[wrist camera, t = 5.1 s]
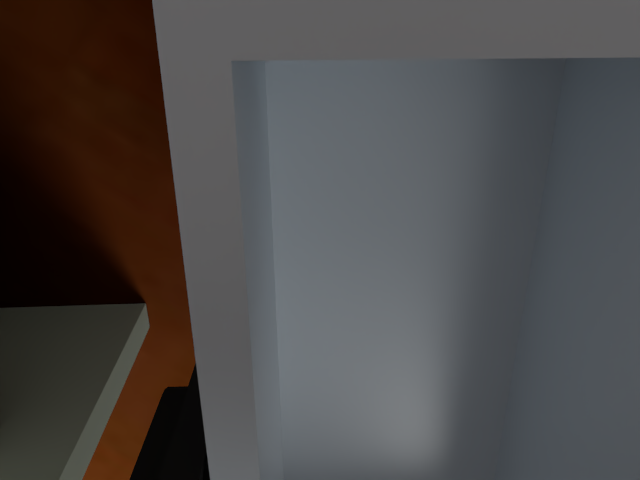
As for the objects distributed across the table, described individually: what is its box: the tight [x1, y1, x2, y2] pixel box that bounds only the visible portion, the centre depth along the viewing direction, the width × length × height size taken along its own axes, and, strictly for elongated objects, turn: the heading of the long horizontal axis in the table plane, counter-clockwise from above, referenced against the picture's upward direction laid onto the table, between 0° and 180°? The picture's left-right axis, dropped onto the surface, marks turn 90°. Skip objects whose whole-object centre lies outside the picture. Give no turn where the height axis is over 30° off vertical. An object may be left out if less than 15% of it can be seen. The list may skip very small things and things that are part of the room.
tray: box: [152, 0, 640, 480], centre depth 9 cm, size 14×6×4 cm, turn 0°
